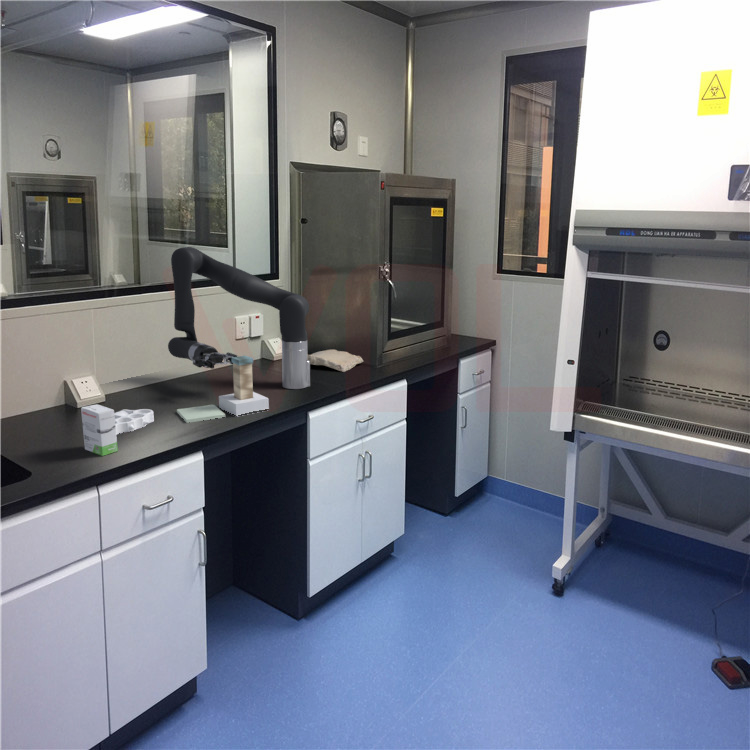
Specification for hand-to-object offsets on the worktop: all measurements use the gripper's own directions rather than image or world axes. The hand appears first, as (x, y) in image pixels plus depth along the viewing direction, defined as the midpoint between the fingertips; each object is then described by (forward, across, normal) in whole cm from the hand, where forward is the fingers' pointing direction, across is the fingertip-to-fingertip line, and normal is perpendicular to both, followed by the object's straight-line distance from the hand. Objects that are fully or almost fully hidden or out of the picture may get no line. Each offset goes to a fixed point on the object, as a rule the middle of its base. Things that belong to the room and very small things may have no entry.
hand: (225, 364), depth 222 cm
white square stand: (+12, 0, +13) cm, 17 cm away
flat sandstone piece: (-23, +58, +13) cm, 64 cm away
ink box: (+22, -48, +14) cm, 55 cm away
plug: (+12, 0, +13) cm, 17 cm away
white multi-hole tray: (+5, -36, +14) cm, 39 cm away
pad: (+9, -13, +13) cm, 21 cm away
